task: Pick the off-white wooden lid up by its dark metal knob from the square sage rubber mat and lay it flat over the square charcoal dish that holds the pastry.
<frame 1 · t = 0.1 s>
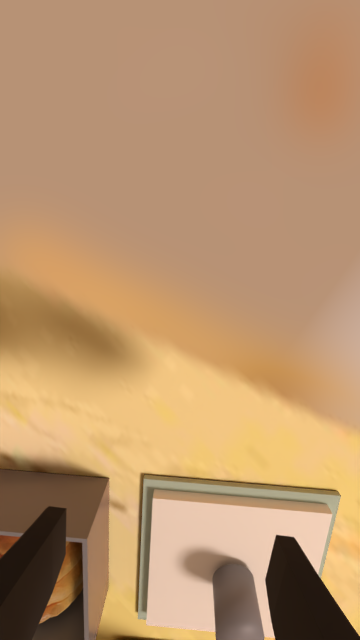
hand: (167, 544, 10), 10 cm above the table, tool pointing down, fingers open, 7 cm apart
lid: (230, 562, 22), resting on mat
mat: (230, 557, 23), on the table
pastry: (45, 534, 24), resting in dish
dish: (40, 529, 23), on the table
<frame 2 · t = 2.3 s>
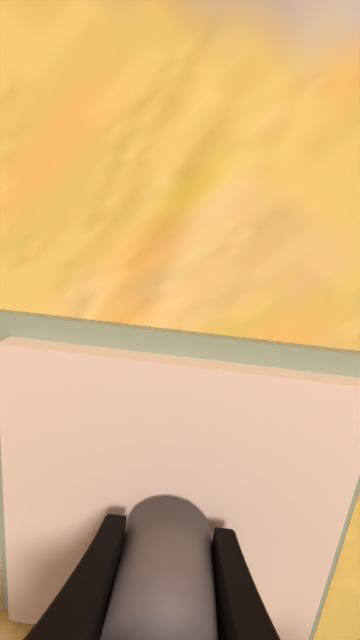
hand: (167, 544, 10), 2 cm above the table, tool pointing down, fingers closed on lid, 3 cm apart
lid: (171, 504, 11), resting on mat, touching gripper
mat: (171, 495, 12), on the table
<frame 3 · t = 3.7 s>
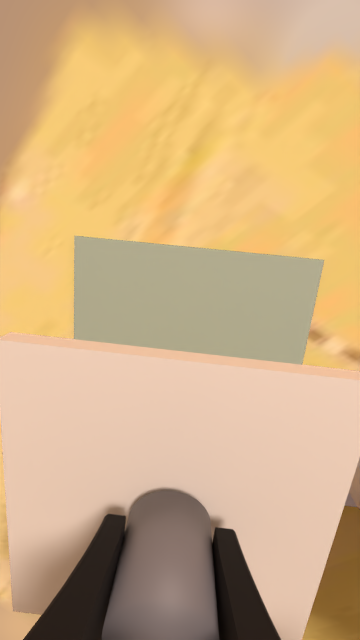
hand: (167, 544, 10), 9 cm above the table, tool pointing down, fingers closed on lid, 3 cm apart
lid: (171, 496, 12), point 8 cm above the table, touching gripper
mat: (186, 361, 18), on the table
when the fingers open (7 cm above the table, at t = 5.1 s): lid stays where it is, resting on dish.
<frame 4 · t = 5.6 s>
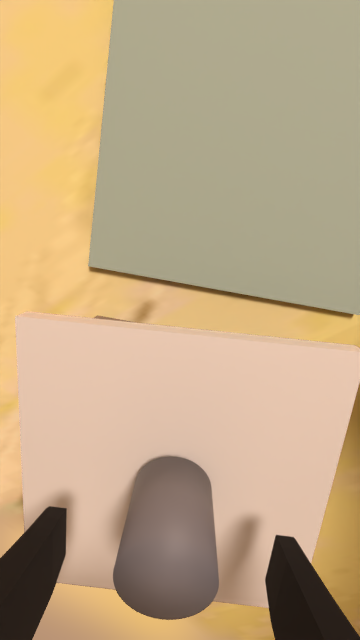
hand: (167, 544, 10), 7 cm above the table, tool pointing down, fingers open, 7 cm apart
lid: (174, 466, 12), point 5 cm above the table, touching dish
mat: (254, 141, 13), on the table
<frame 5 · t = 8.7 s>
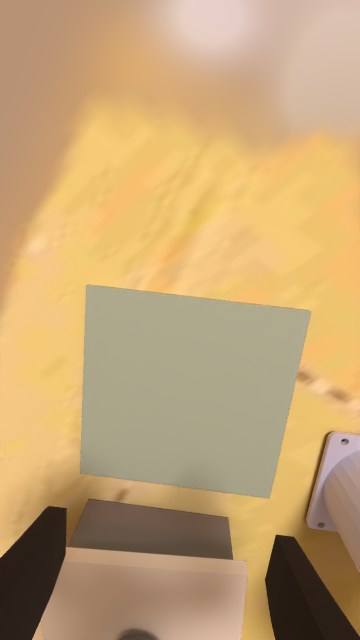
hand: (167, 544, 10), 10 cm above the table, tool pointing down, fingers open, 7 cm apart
lid: (142, 627, 19), point 5 cm above the table, touching dish
mat: (185, 397, 20), on the table
dish: (151, 562, 24), on the table
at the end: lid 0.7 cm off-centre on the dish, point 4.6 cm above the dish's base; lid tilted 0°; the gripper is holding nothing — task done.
